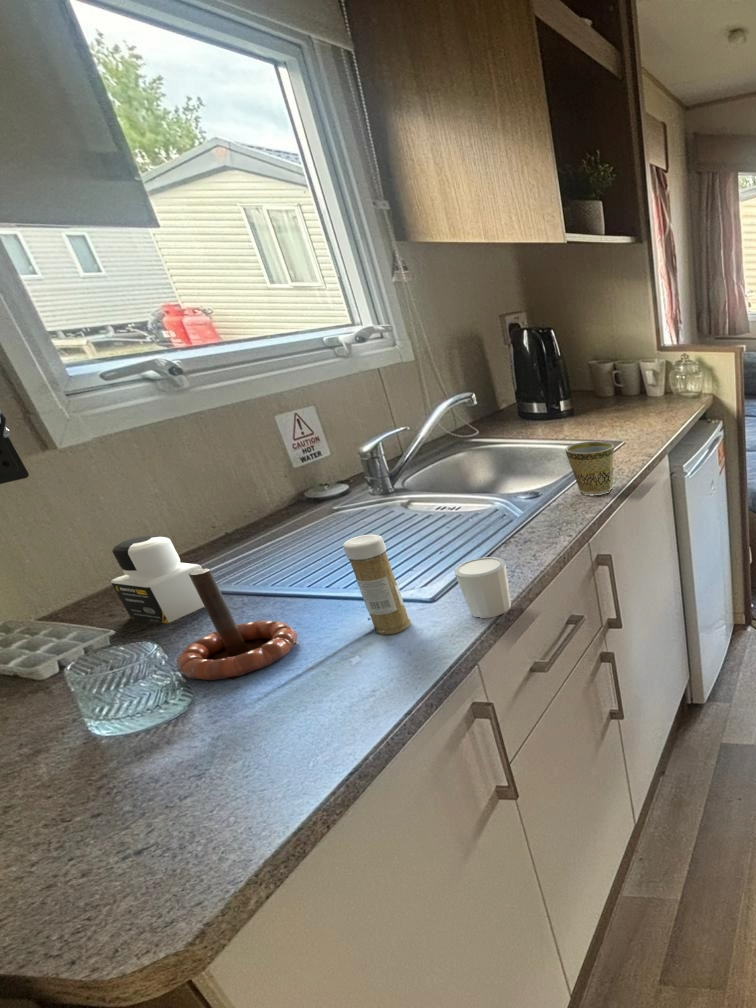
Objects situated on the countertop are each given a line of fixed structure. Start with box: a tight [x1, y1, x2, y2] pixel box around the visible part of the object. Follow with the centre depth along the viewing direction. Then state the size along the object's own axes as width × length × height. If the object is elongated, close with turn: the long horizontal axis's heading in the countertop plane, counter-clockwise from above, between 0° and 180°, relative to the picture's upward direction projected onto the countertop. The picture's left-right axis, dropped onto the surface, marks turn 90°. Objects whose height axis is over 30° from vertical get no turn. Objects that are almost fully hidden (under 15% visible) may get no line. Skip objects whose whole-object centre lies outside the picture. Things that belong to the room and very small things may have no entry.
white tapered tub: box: [453, 556, 512, 619], centre depth 96 cm, size 7×7×7 cm
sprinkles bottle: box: [342, 534, 411, 636], centre depth 89 cm, size 5×5×14 cm
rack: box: [176, 567, 300, 681], centre depth 82 cm, size 9×9×13 cm
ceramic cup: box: [564, 440, 615, 495], centre depth 144 cm, size 13×10×10 cm
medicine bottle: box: [110, 534, 205, 624], centre depth 93 cm, size 7×7×12 cm
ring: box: [176, 620, 298, 681], centre depth 83 cm, size 12×12×2 cm
